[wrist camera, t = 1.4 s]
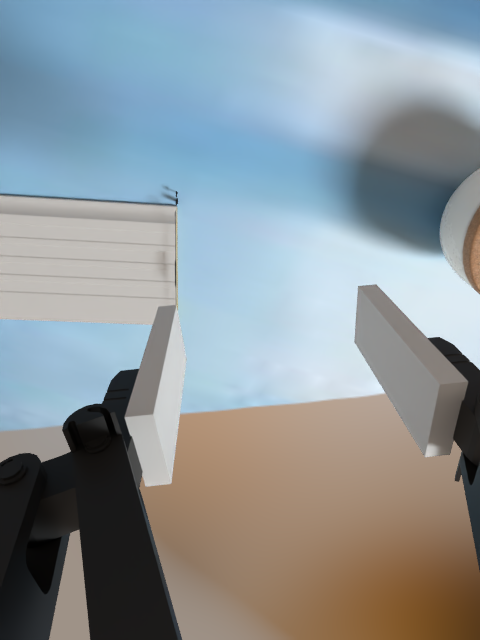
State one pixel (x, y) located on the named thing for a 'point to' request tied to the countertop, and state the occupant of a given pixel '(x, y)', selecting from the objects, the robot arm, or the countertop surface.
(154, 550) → the robot arm
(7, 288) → the baseboard
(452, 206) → the lidded jar
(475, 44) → the countertop surface
